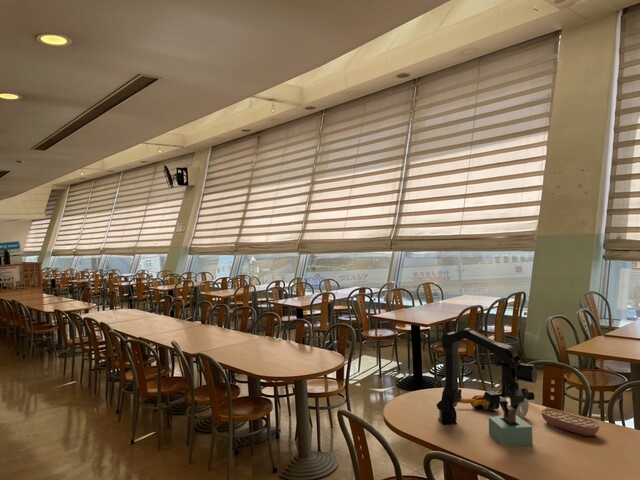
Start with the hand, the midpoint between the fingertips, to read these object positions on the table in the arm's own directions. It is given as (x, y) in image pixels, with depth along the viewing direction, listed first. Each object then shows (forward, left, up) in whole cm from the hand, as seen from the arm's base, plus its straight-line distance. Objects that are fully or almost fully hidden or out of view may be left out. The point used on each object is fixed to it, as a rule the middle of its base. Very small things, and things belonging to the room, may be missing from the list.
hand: (509, 416), depth 188 cm
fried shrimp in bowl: (+2, +33, -9) cm, 34 cm away
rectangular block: (0, 0, -1) cm, 1 cm away
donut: (+15, +19, -9) cm, 26 cm away
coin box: (0, 0, -9) cm, 9 cm away
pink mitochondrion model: (+28, +5, -9) cm, 30 cm away
